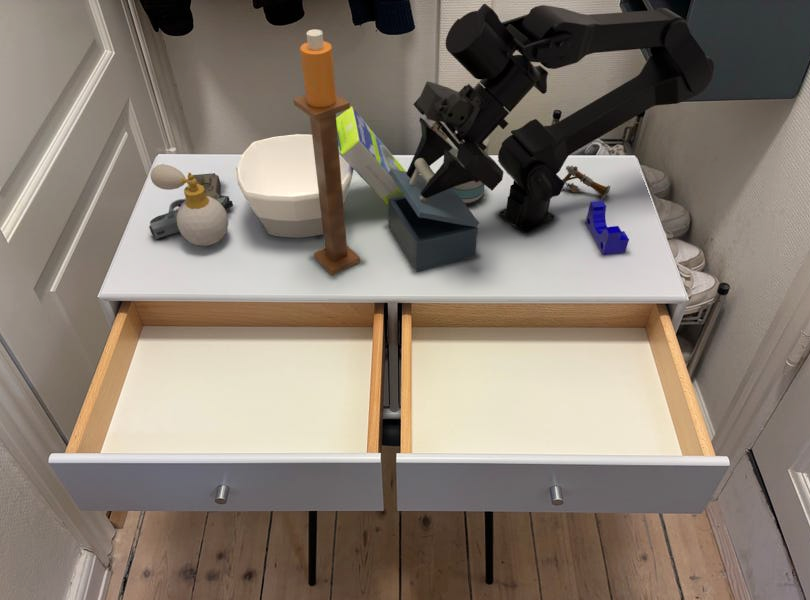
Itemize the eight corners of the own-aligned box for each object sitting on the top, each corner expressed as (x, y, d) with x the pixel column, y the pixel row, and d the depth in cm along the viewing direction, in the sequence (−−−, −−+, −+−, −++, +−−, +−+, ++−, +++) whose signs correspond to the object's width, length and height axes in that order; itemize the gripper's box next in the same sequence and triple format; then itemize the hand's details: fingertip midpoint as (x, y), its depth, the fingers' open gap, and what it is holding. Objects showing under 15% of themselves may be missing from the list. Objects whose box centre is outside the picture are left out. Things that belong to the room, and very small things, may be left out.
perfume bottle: (230, 252, 100) (213, 184, 91) (165, 257, 100) (141, 189, 91) (233, 222, 105) (217, 155, 96) (171, 227, 105) (149, 159, 96)
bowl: (356, 181, 113) (352, 130, 106) (359, 247, 101) (355, 194, 94) (251, 186, 112) (240, 135, 105) (241, 253, 100) (229, 200, 93)
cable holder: (624, 252, 100) (631, 231, 97) (602, 254, 100) (608, 233, 97) (606, 220, 105) (612, 199, 102) (585, 222, 105) (590, 201, 102)
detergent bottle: (325, 90, 82) (319, 23, 76) (341, 101, 80) (336, 33, 74) (300, 99, 81) (292, 31, 75) (316, 110, 79) (309, 42, 73)
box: (419, 207, 104) (351, 129, 93) (398, 221, 106) (329, 147, 94) (408, 170, 111) (343, 94, 100) (388, 184, 113) (322, 110, 101)
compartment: (416, 271, 97) (416, 243, 93) (388, 227, 105) (388, 198, 101) (475, 256, 100) (478, 227, 96) (444, 213, 107) (445, 185, 103)
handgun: (130, 190, 108) (151, 229, 100) (212, 166, 112) (237, 202, 105) (135, 203, 109) (155, 242, 102) (216, 179, 114) (240, 215, 107)
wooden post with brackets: (554, 180, 111) (570, 160, 108) (594, 204, 112) (611, 184, 109) (552, 186, 110) (568, 165, 107) (593, 210, 111) (610, 191, 108)
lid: (418, 217, 90) (433, 186, 87) (388, 173, 97) (401, 143, 95) (477, 227, 96) (492, 199, 93) (444, 185, 103) (458, 157, 100)
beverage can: (436, 203, 109) (439, 136, 100) (448, 180, 113) (452, 114, 104) (477, 211, 107) (484, 143, 98) (487, 187, 112) (495, 121, 103)
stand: (341, 245, 102) (327, 87, 83) (360, 262, 99) (349, 102, 80) (314, 258, 100) (292, 98, 81) (332, 275, 97) (314, 114, 78)
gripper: (429, 32, 88) (354, 124, 94) (491, 94, 77) (401, 195, 82) (477, 80, 96) (405, 163, 102) (540, 144, 84) (455, 233, 90)
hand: (415, 186), depth 94 cm, fingers closed on lid, 5 cm apart
